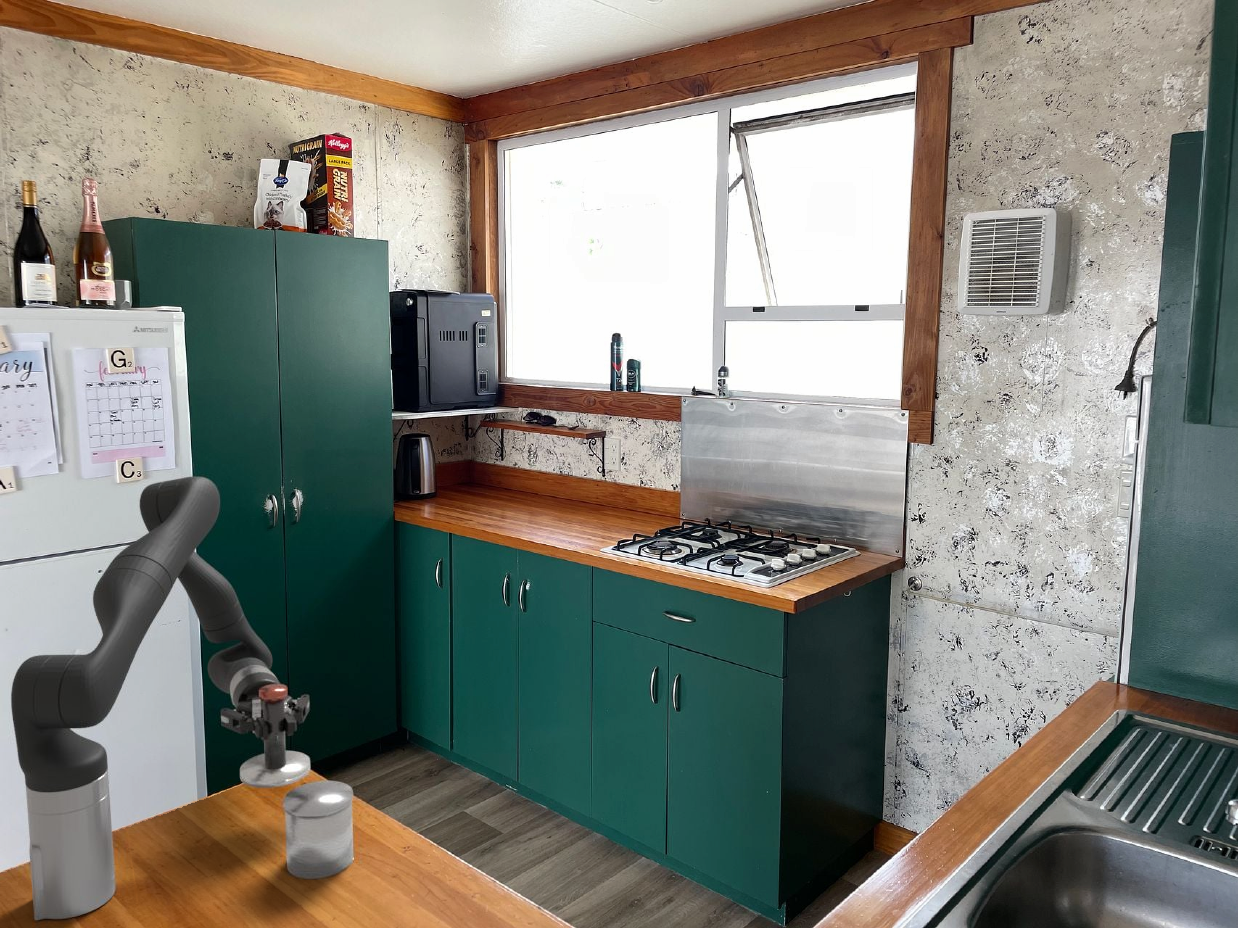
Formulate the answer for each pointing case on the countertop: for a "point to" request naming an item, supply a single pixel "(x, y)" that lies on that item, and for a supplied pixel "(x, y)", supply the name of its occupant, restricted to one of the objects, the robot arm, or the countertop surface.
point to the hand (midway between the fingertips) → (278, 731)
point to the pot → (319, 829)
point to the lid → (274, 747)
